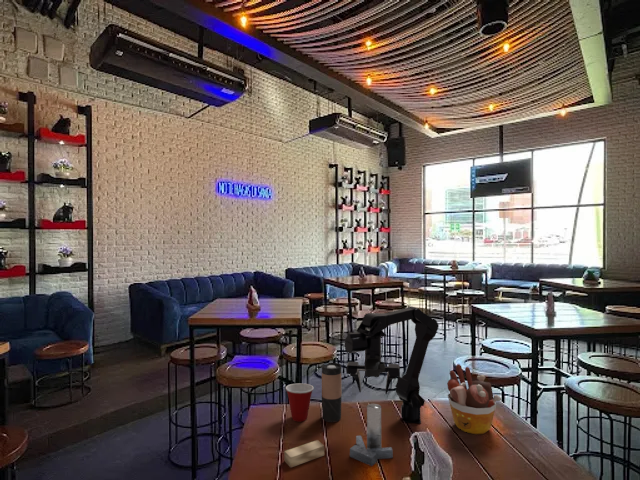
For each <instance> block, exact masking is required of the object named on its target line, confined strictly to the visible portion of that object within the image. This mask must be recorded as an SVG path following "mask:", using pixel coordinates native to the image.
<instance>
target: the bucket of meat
mask: <svg viewBox="0 0 640 480" xmlns="http://www.w3.org/2000/svg"><path fill="white" fill-rule="evenodd" d="M455 368H456V372H457V374H456V372H455V371H454V370H450V371H449V376H450V379H448V381H447V390H448V391H449V393H448V394H447V398H448V401H449V406H450V410H451V415H452V419H453V422H454V425H456V427H457V428H458V429H459V430H460V429H461V430H460V431H462V432H464V433H466V432H467V433H466V434H472V435H483V434H484V435H485V434H486V433H487V432H488V431H489V430H490V429H491V428H492V423H493V420H494V416H495V411H496V407H497V401H498V402H499V401H501V400H502V397H500V396H499V395H497V394H493V392H494V391H493V388H492V382H488V381H485V379H487V377H486V375H484V374H480V375H477V377H476V379H477V380H473V378H472V373H471V368H470V367H468V366H466V367H465V368H464V371H465V375H464V372H463V368H462V365H461V364H460V363H457V364H456V367H455ZM457 375H458V377H457ZM465 376H466V380H465ZM466 381H467V384H466ZM467 387H468V388H467Z"/></svg>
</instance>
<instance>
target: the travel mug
mask: <svg viewBox="0 0 640 480" xmlns="http://www.w3.org/2000/svg"><path fill="white" fill-rule="evenodd" d="M321 417H322V420H323V421H325V422H326V423H336V422H340V421H341V420H342V365H341V364H340V363H338V362H328V363H327V364H324V363H323V364H322V365H321Z"/></svg>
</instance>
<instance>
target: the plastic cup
mask: <svg viewBox="0 0 640 480" xmlns="http://www.w3.org/2000/svg"><path fill="white" fill-rule="evenodd" d="M285 391H286V393H287V396H288V404H289V410H290V416H291V419H292V420H293V421H294V422H300V423H301V422H305V421H306V420H308V417H309V416H308V415H309V409H310V404H311V399H312V394H313V391H314V386H313V385H312V384H309V383H291V384H288V385H286V386H285Z"/></svg>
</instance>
